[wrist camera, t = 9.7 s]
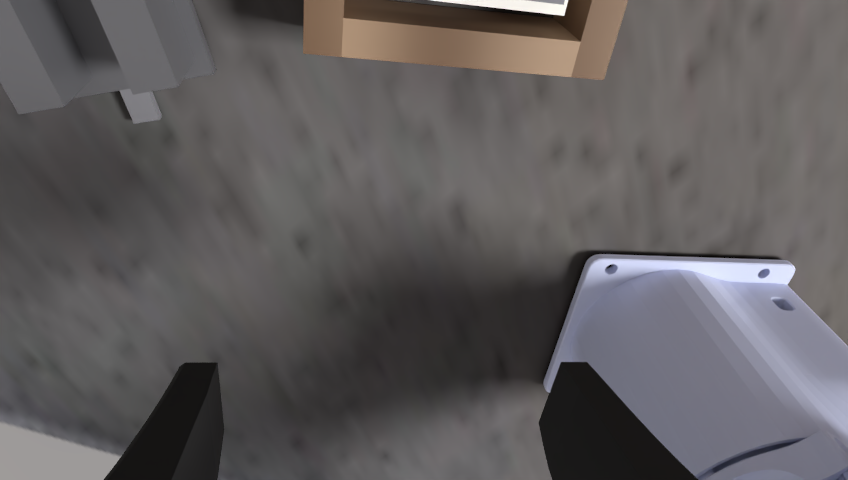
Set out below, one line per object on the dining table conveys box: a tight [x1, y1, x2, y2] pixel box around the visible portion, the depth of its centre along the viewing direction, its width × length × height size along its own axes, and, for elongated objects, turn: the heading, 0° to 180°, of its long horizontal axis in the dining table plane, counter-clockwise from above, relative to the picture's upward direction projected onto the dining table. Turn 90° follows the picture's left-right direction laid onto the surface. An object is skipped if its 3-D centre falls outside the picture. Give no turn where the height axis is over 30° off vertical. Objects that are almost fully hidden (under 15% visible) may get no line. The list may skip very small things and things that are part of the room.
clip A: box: [0, 0, 216, 114], centre depth 15 cm, size 5×5×3 cm
